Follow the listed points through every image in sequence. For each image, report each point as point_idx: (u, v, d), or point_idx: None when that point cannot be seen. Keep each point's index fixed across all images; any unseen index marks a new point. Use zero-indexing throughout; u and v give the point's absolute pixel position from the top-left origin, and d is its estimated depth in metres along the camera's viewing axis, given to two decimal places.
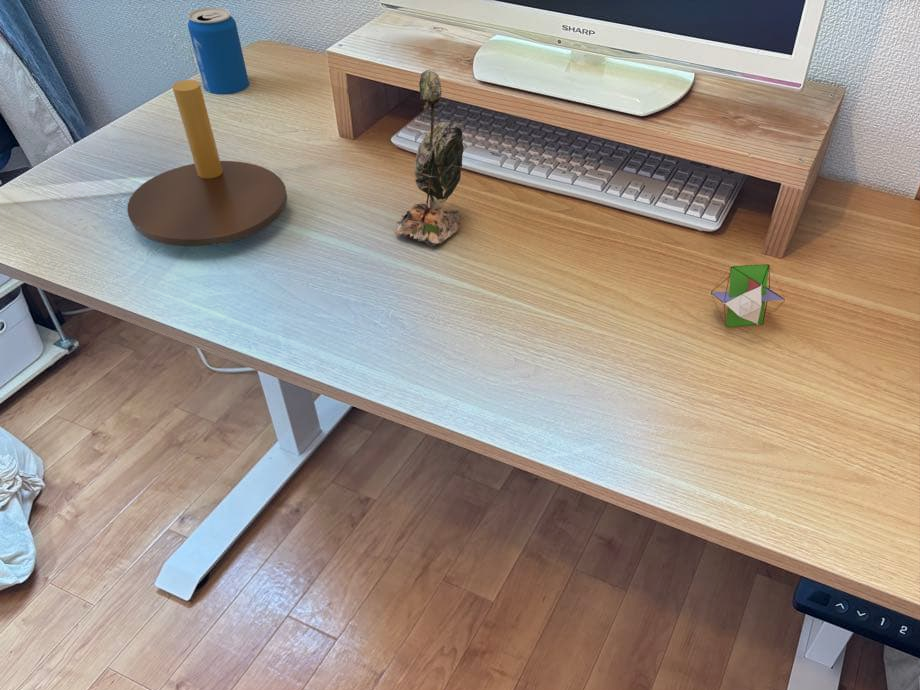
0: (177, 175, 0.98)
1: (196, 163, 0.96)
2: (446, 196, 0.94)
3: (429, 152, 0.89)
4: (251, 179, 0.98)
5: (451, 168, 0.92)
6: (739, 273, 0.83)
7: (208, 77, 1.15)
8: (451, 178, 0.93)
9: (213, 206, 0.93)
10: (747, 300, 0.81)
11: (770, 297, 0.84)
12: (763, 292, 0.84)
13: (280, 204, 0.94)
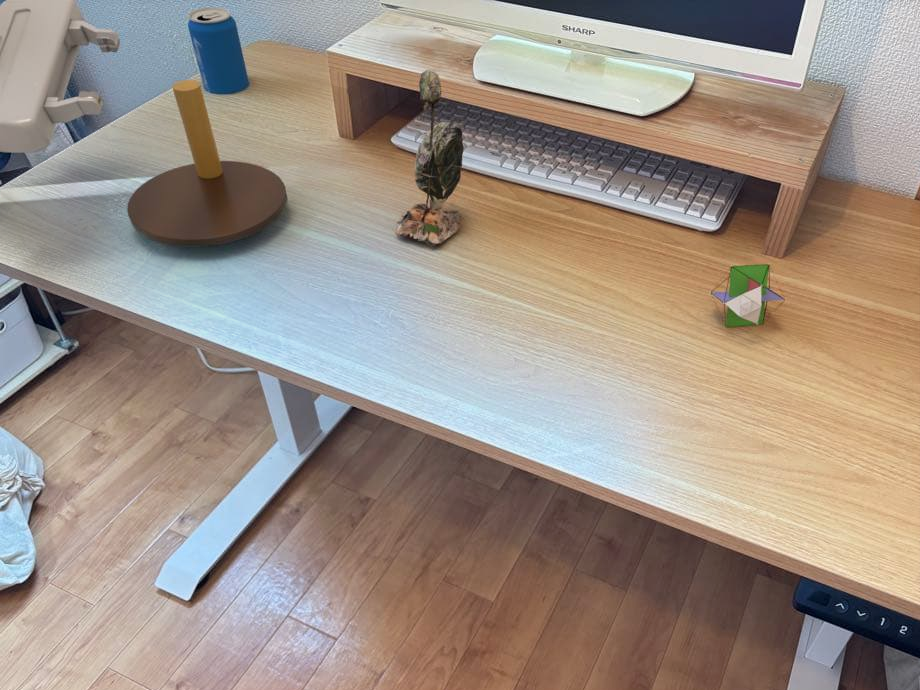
0: (177, 175, 0.98)
1: (196, 163, 0.96)
2: (446, 196, 0.94)
3: (429, 152, 0.89)
4: (251, 179, 0.98)
5: (451, 168, 0.92)
6: (739, 273, 0.83)
7: (208, 77, 1.15)
8: (451, 178, 0.93)
9: (213, 206, 0.93)
10: (747, 300, 0.81)
11: (770, 297, 0.84)
12: (763, 292, 0.84)
13: (280, 204, 0.94)
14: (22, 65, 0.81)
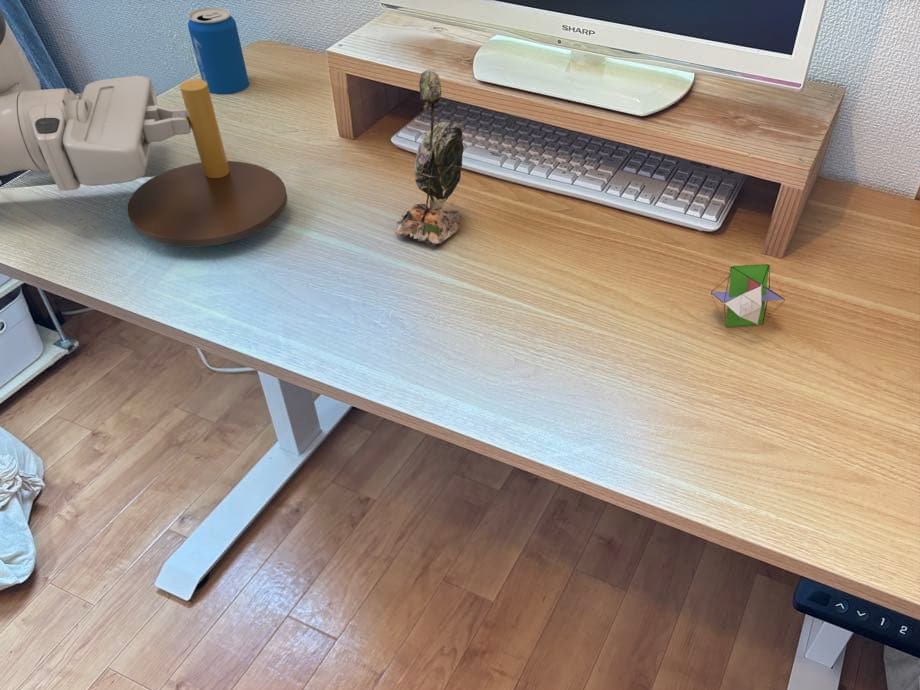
0: (184, 172, 0.98)
1: (202, 162, 0.97)
2: (446, 196, 0.94)
3: (429, 152, 0.89)
4: (255, 181, 0.98)
5: (451, 168, 0.92)
6: (739, 273, 0.83)
7: (208, 77, 1.15)
8: (451, 178, 0.93)
9: (210, 207, 0.93)
10: (747, 300, 0.81)
11: (770, 297, 0.84)
12: (763, 292, 0.84)
13: (276, 209, 0.93)
14: (116, 117, 0.90)
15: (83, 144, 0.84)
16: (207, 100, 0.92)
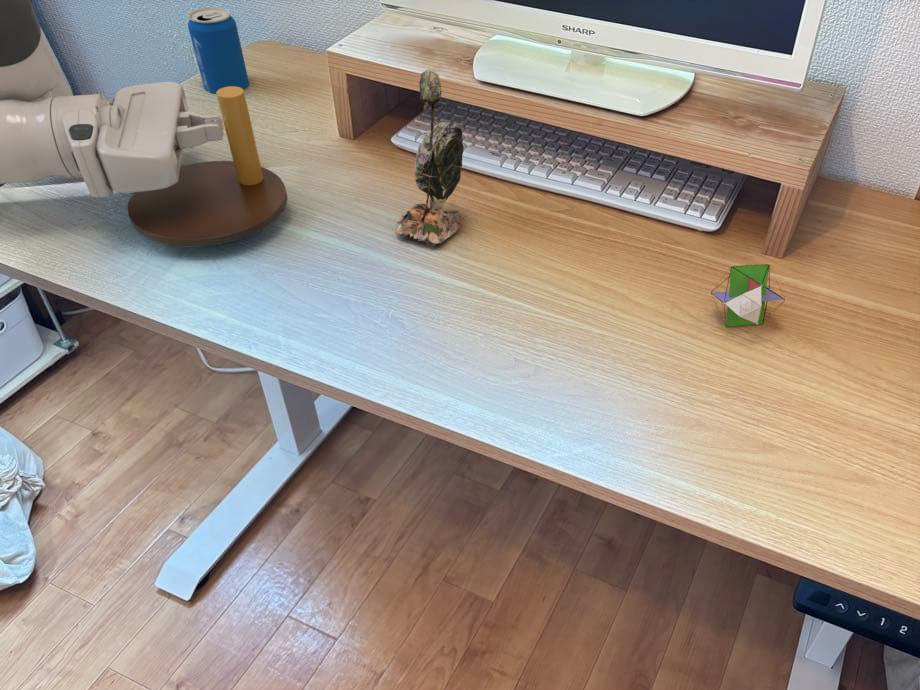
0: (232, 168, 1.00)
1: None
2: (446, 196, 0.94)
3: (429, 152, 0.89)
4: (257, 201, 0.94)
5: (451, 168, 0.92)
6: (739, 273, 0.83)
7: (208, 77, 1.15)
8: (451, 178, 0.93)
9: (194, 206, 0.93)
10: (747, 300, 0.81)
11: (770, 297, 0.84)
12: (763, 292, 0.84)
13: (226, 234, 0.89)
14: (148, 123, 0.89)
15: (117, 151, 0.83)
16: (234, 110, 0.90)
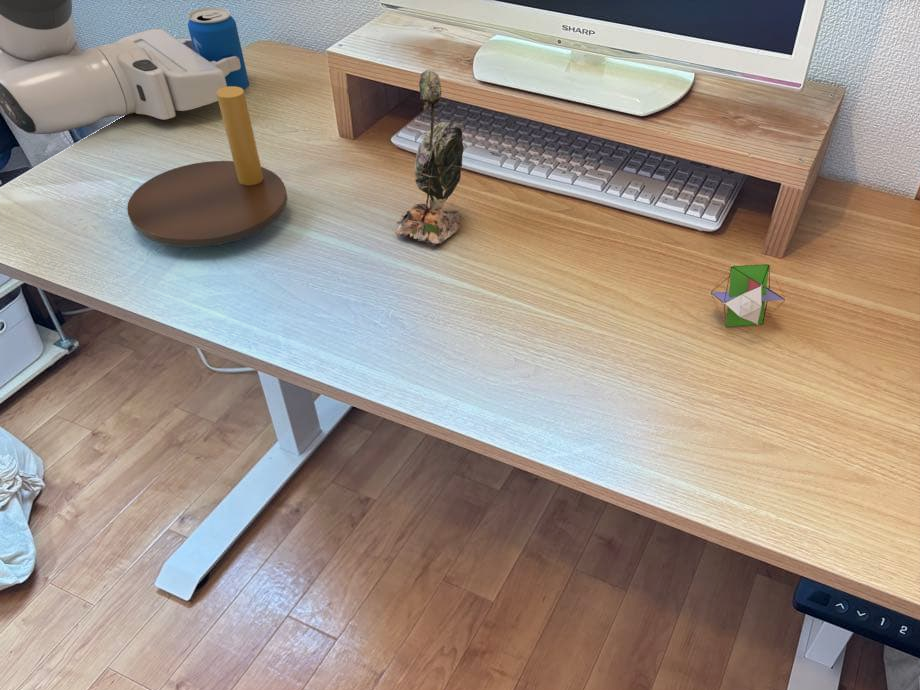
0: (232, 168, 1.00)
1: None
2: (446, 196, 0.94)
3: (429, 152, 0.89)
4: (257, 201, 0.94)
5: (451, 168, 0.92)
6: (739, 273, 0.83)
7: None
8: (451, 178, 0.93)
9: (194, 206, 0.93)
10: (747, 300, 0.81)
11: (770, 297, 0.84)
12: (763, 292, 0.84)
13: (226, 234, 0.89)
14: (177, 55, 1.10)
15: (184, 73, 1.05)
16: (234, 110, 0.90)
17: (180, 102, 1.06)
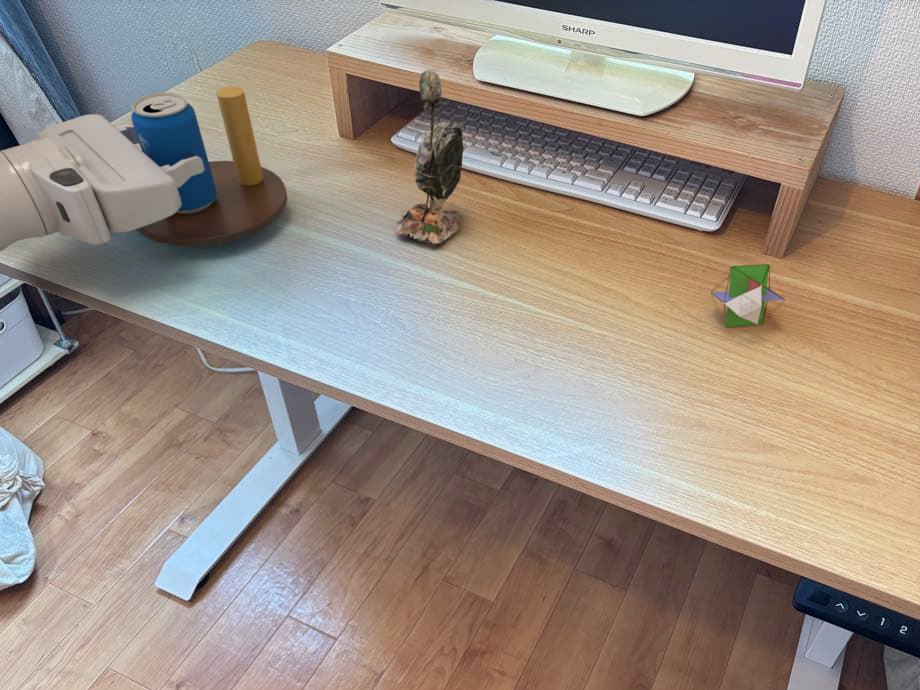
0: (232, 168, 1.00)
1: None
2: (446, 196, 0.94)
3: (429, 152, 0.89)
4: (257, 201, 0.94)
5: (451, 168, 0.92)
6: (739, 273, 0.83)
7: None
8: (451, 178, 0.93)
9: None
10: (747, 300, 0.81)
11: (770, 297, 0.84)
12: (763, 292, 0.84)
13: (226, 234, 0.89)
14: (114, 156, 0.83)
15: (121, 186, 0.78)
16: (234, 110, 0.90)
17: (116, 222, 0.80)
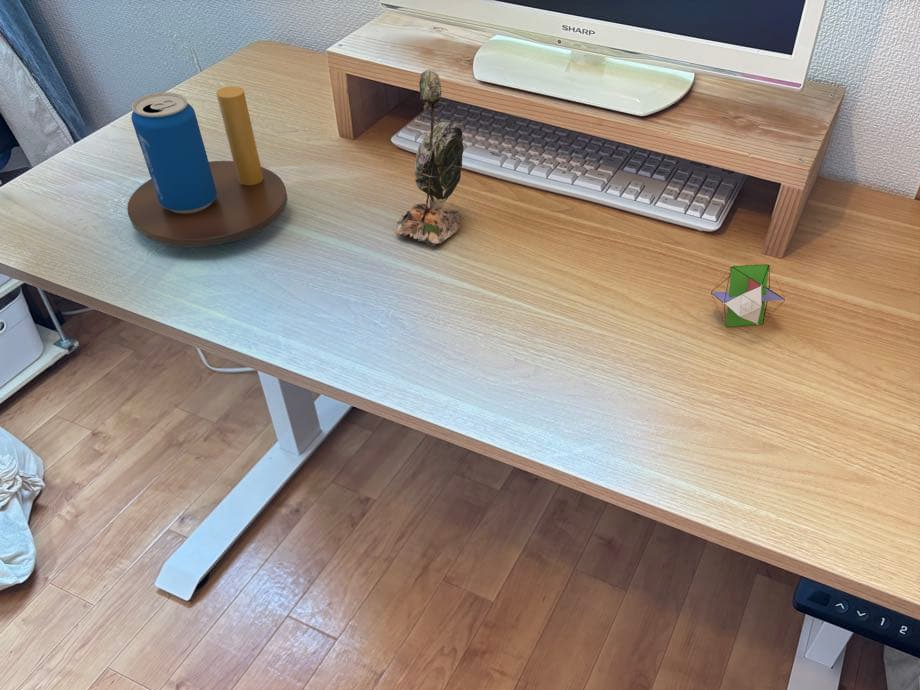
0: (232, 168, 1.00)
1: None
2: (446, 196, 0.94)
3: (429, 152, 0.89)
4: (257, 201, 0.94)
5: (451, 168, 0.92)
6: (739, 273, 0.83)
7: (159, 182, 0.88)
8: (451, 178, 0.93)
9: None
10: (747, 300, 0.81)
11: (770, 297, 0.84)
12: (763, 292, 0.84)
13: (226, 234, 0.89)
14: None
15: None
16: (234, 110, 0.90)
17: None
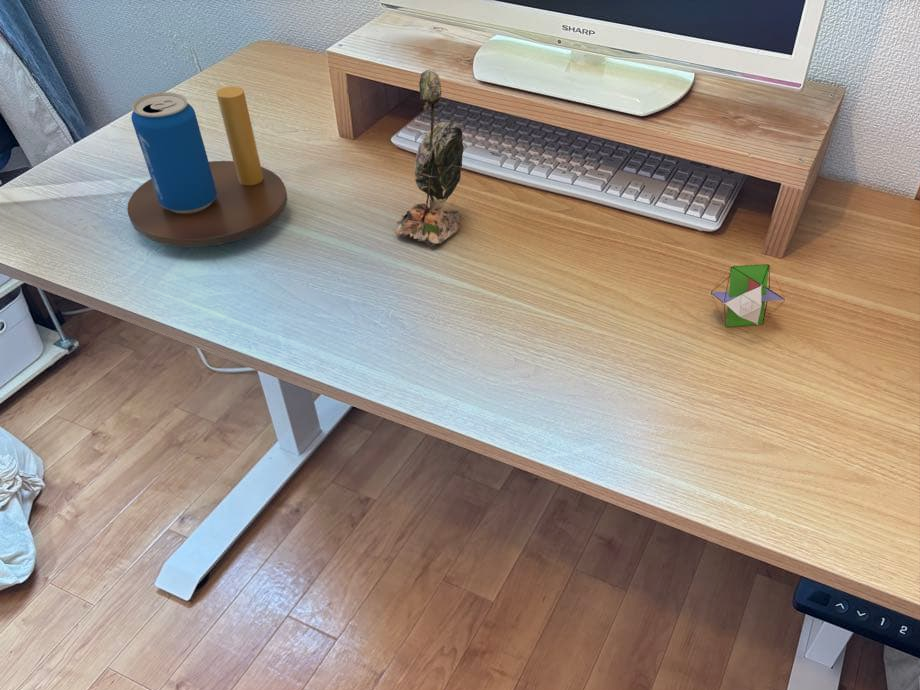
0: (232, 168, 1.00)
1: None
2: (446, 196, 0.94)
3: (429, 152, 0.89)
4: (257, 201, 0.94)
5: (451, 168, 0.92)
6: (739, 273, 0.83)
7: (159, 182, 0.88)
8: (451, 178, 0.93)
9: None
10: (747, 300, 0.81)
11: (770, 297, 0.84)
12: (763, 292, 0.84)
13: (226, 234, 0.89)
14: None
15: None
16: (234, 110, 0.90)
17: None
